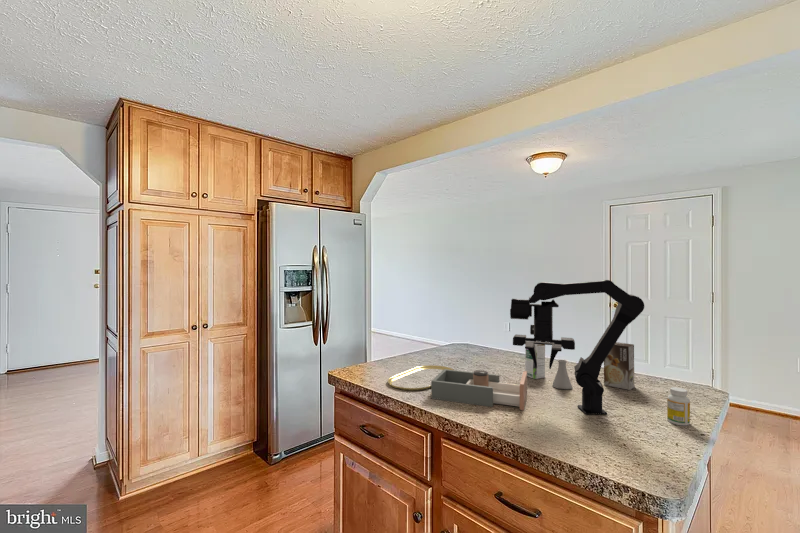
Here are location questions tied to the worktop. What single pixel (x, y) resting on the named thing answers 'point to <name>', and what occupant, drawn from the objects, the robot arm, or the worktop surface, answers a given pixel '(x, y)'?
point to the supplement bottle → (678, 407)
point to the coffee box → (620, 366)
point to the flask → (562, 377)
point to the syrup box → (540, 356)
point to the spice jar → (480, 378)
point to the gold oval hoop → (413, 372)
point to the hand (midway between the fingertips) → (543, 368)
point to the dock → (461, 388)
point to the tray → (509, 392)
